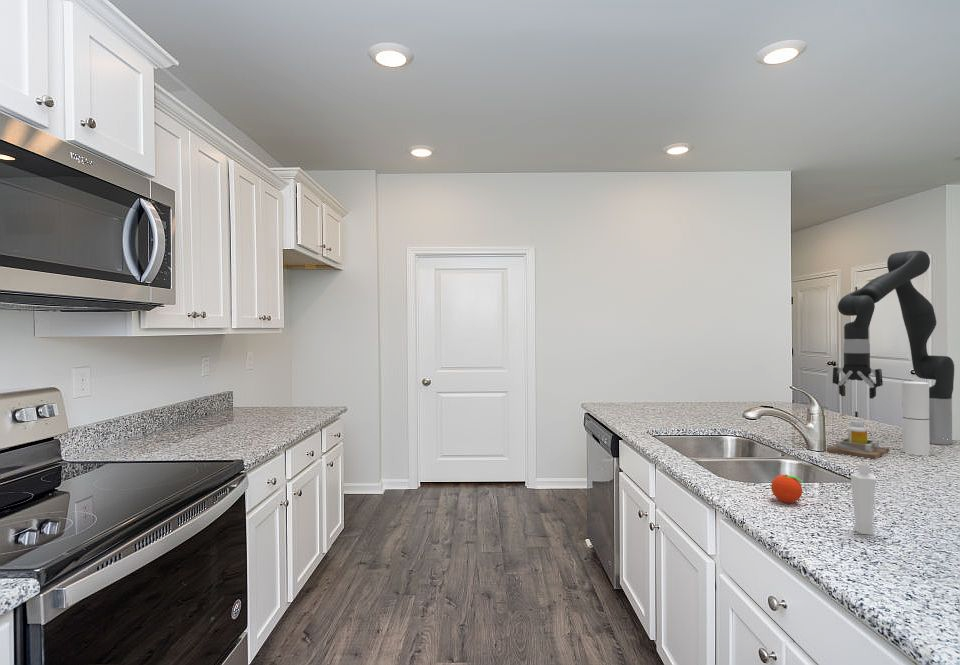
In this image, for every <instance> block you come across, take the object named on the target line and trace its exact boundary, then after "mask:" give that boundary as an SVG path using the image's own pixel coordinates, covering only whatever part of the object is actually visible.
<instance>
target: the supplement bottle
mask: <svg viewBox="0 0 960 665" xmlns="http://www.w3.org/2000/svg"><path fill="white" fill-rule="evenodd" d="M865 425H866V424H865V421H864V420H861V419H860V420H859V419H858V420H857V419H852V420H850V426H849V427H848V430H847V431H848V432H847V433H848V435H847V437H848V442H852V443H859V444H867V440H868V429H867V428H866V427H865Z"/></svg>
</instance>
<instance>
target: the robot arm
mask: <svg viewBox="0 0 960 665" xmlns="http://www.w3.org/2000/svg"><path fill="white" fill-rule="evenodd" d="M886 265H887V271H888V272H885V273H884V274H881V275H880V276H877V277H874V278H873V279H871V280H870V281H869V282H867V283H866V284H865V285H864V286H862V287H861V288H859V289H857V290H853V291H852V292H850V293H847V294H846V295H845V296H842V298H840V300H839V301H838V303H837V304H838V305H837V310H838V312H839V313H840V314H841V315H844V316H847V317H850V316H855V319H854V321H851V322H847V323H845V324H844V325H843V326H844V327H843V332H844V333H843V338H844V339H843V348H842V350H843V367H839V366H835V367H833V369H832V384H834V385H837V386H838V393H839V395H840V397H845V396H846V385H845V384H846V383H848V381H850V380H851V381H859V382H860V381H861V382H862V381H863V382H864V383H866V384H867V385H868V387H869V393H868V394H869V395H868V396H869V399H871V400H872V399H874V398H875V397H876V396H877V388H878V387H882V386H883V385H884V384H883V383H884V381H883V372H882V369H881V368H873V369H872V367H871V344H870V334H869V333H870V331H869V330H870V329H869V328H870V325H871V321H872V318H873V315H874V311H875V309H876V308H875V307H876V306H875V305H876V303H878V302H880V301H881V300H882V299H884V298H885V297H886V296H887V295H889V293H891V292H893V291H894V290H895V292H896V296H897V298H898V302H899V307H900V310H901V316H902V320H903V323H904V326H905V330H906V334H907V337H908V342H909V348H910V355H911V363H912V368H913V371H914V374H915V376H916V377H917V378H919V379H923V380H935V382H934V384H933V385H932V386H929V442H930V444H932V445H947V446H948V445H952V444H953V392H954V381H955V363H954V361H953V359H952V358H951V357H950V356H947V355H930V354H928V350H927V344H928V341H929V339H930V337H931V336H932V334H933V332H934V330H935V328H936V327H937V318H936V313H935V309H934V306H933V305H932V303H931V302H930V300H928V299H927V298H926V297H925V296H924V295H923V294H922V293H921V292H919V291H918V290H917V289H916V287H915V286H914V285H913V283H912V280H913V279H915V278H918V277H919V276H921V275H923V274H925V273H926V272H927V271H928V270H929V268H930V265H931V258H930V256H929V255H928V253H927V252H925V251H923V250H908V251H902V252H901V251H900V252H894V253H892V254H890V255H889V256H888V257H887V263H886ZM842 372H843V373H844V376H843V377H842V378H841V380H840V374H841V373H842ZM870 374H873V375H874V376H875V381H874V380H873V379H872V378H871V377H870ZM943 438H944V439H943ZM947 439H948V440H947Z"/></svg>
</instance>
